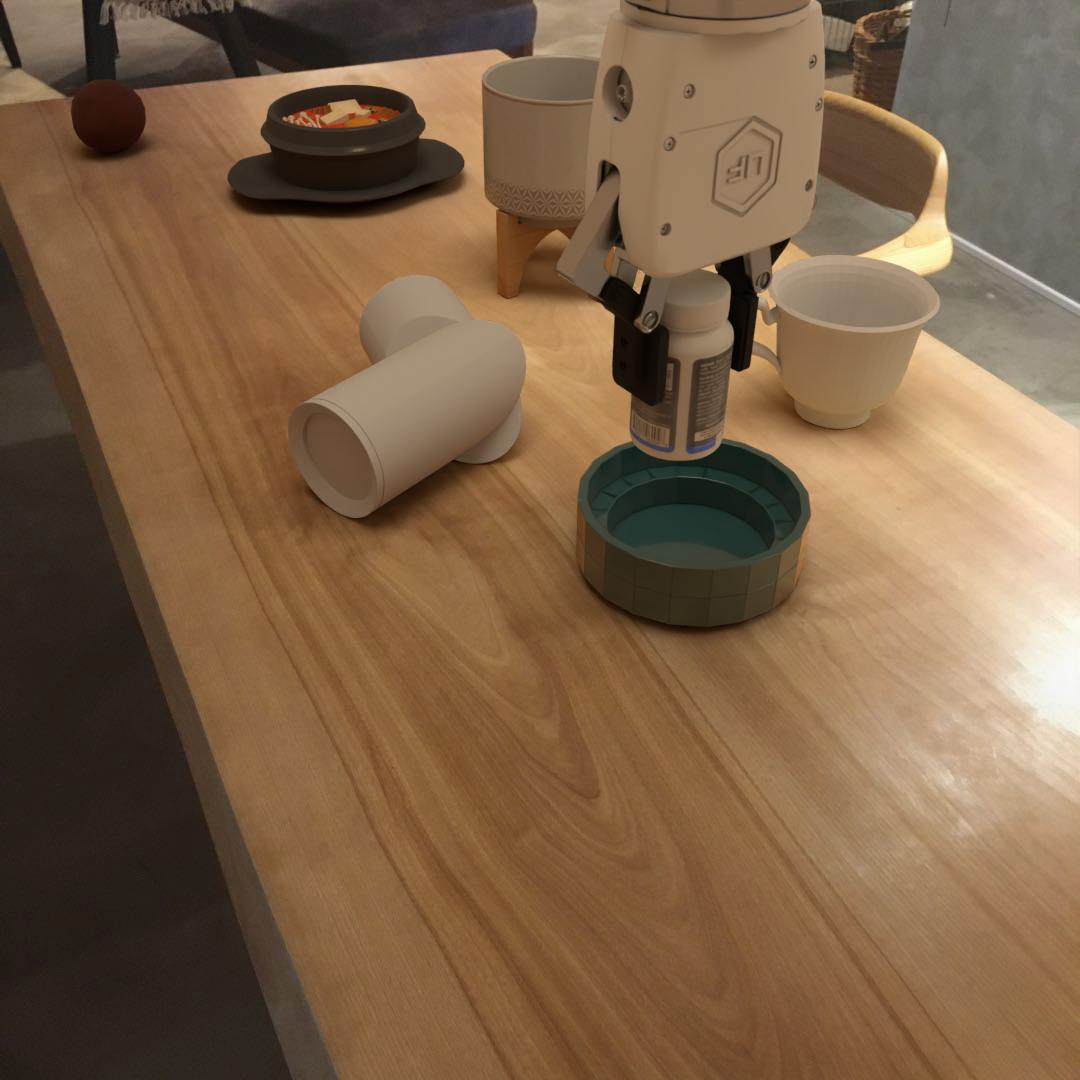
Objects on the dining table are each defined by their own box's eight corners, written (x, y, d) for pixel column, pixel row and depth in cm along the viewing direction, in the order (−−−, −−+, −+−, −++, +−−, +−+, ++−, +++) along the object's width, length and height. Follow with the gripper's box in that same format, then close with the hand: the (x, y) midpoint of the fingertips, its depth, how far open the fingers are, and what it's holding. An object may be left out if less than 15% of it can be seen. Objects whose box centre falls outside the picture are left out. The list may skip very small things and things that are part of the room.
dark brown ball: (167, 139, 137) (153, 70, 132) (127, 167, 130) (111, 96, 125) (104, 133, 138) (88, 65, 134) (61, 161, 131) (43, 90, 126)
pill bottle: (714, 412, 62) (731, 262, 56) (729, 463, 58) (748, 307, 53) (623, 413, 61) (632, 263, 56) (633, 464, 58) (643, 308, 53)
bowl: (846, 585, 74) (859, 521, 71) (658, 664, 68) (664, 598, 65) (710, 473, 83) (716, 412, 80) (536, 534, 78) (536, 471, 75)
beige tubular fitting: (585, 475, 81) (490, 344, 95) (555, 347, 74) (457, 227, 88) (344, 577, 78) (284, 426, 93) (289, 454, 71) (233, 312, 86)
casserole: (241, 233, 116) (227, 148, 111) (221, 167, 130) (208, 89, 125) (485, 203, 122) (483, 122, 117) (441, 144, 136) (438, 68, 131)
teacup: (701, 375, 94) (713, 258, 88) (883, 367, 95) (907, 250, 89) (734, 459, 85) (750, 334, 79) (936, 449, 86) (966, 325, 80)
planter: (458, 272, 109) (449, 73, 98) (562, 235, 116) (565, 45, 105) (550, 321, 101) (552, 112, 90) (656, 278, 108) (670, 79, 97)
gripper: (605, 25, 40) (590, 468, 51) (935, -40, 48) (859, 357, 59) (483, -19, 45) (493, 395, 56) (801, -71, 53) (754, 301, 64)
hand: (681, 372), depth 57 cm, fingers closed on pill bottle, 4 cm apart
